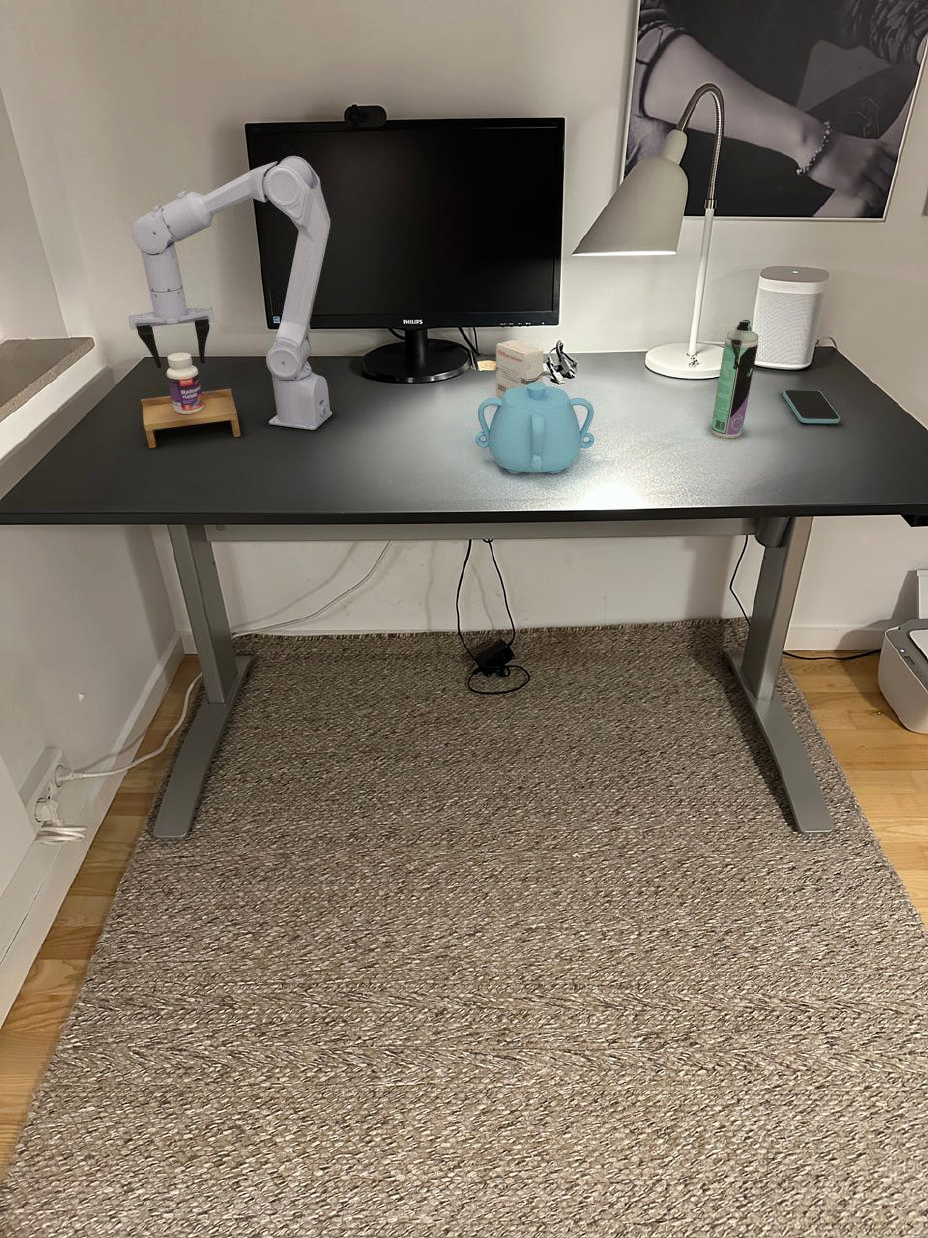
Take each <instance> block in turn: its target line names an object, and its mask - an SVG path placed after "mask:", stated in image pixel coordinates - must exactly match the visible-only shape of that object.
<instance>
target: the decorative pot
mask: <svg viewBox="0 0 928 1238" xmlns="http://www.w3.org/2000/svg"><path fill="white" fill-rule="evenodd" d="M490 406H497V407H496V409H495V411H494V414H493V416H492V419H491V423H490V428H489V425H488V424H487V421H486V416H485V409H486V408H487V407H490ZM574 406H581V407H584V408H585V409H586V410H587V413H586V417H585V419H584V420H585V421H584V422H583V424H582V426H581V427H580V422H579V419H578V415H577V413H576V410H575V408H574ZM594 415H595V411H594V407H593V404H592V403H591V402H590V401H589V400H587V399H585V398H583V397H573V398H570V397H569V395H568V393H567V392H566V391H565V390H564V389H562V388H559V387H555V386H547V384H545V383H544V382H543V383H539V382H533V383H530V384H528V385H527V386H522V387H515V388H511V389H509V390H507V391H506V392H505V394H504V395H503V397H502V399H499V398H496V397H490V398H486V399H485V400H483V401H482V402H481V403H480V404H479V405H478V409H477V418H478V421H479V425H480V427H481V430H482V431H479V432H478V433H476V435H475V437H474V438H475V439H474V441H475V444H476V445H477V446H478V447H480V448H482V449H487V448H488V449H489V452H490V454H491V456H492V458H493V459H494V461H495V462H496V464H497V465H498V466H500V467H501V468H503V469H506V470H507V472H509V473H511V474H520V473H523V472H524V473H549V474H559V473H561V472H562V470H564V469H568V468H569V467H571V466H572V465H573V463H575V461H576V459H577V458H578V457H579V455H580V453H581V449H589V448H592V446H593V445H594V443H595V436H594V435H593V434H592V432H588V430H589V429H590V427H591V425H592V422H593V419H594ZM482 437H485V440H482V439H481V438H482ZM585 438H588V440H587V441H585Z"/></svg>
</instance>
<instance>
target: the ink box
mask: <svg viewBox="0 0 928 1238" xmlns="http://www.w3.org/2000/svg"><path fill="white" fill-rule="evenodd" d="M543 379H544V349H541V348H538V347H536V346H533V345H531V344H527V343H525V342H521V341H520V340H516V339H511V340H508V341H503V342H498V343H497V344H495V398H499V399H502V397H503V395H504V394H505V392H506V391H507V390H509V389H511V388H515V387H522V386H527V385H528V384H530V383H533V382H539V383H543V384H544V382H543V381H544V380H543Z"/></svg>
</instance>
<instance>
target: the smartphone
mask: <svg viewBox="0 0 928 1238" xmlns="http://www.w3.org/2000/svg"><path fill="white" fill-rule="evenodd" d="M782 397H783V398H784V399H785V402H787V404H788V405H789V407H790V409H791V410H792V412H793V413H794V415H795V416H796V418H797V420H798V421H799V422H800V423H804V424H839V423H840V420H841V416H840V415H839V414H838V413H837V411H836V409H834V407H833V406H832V405H831V403H830V402H829V401H828V399H827V398H826V396H825V395H824V394H823V393H822V391H820V390H816V389H812V390H811V389H785V390H783V394H782Z"/></svg>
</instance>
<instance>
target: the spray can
mask: <svg viewBox="0 0 928 1238" xmlns="http://www.w3.org/2000/svg"><path fill="white" fill-rule="evenodd" d="M750 325H751V320H749V319H743V320H741V321H739V323H738V325H737V326H736V327H735V328H734V329H733V330H730V331H728V332H727V333H726V337H725V338H724V346H723V352H722V358H721V363H720V370H719V375H718V383H717V389H716V396H715V401H714V408H713V412H712V413H713V414H712V419H711V426H710V432H711V434H712V435H714V436H715V437H718V438H723V439H736V438H739V437H741V436H742V435H743V430H744V424H745V418H746V412H747V407H748V401H749V397H750V391H751V385H752V381H753V374H754V368H755V363H756V358H757V354H758V353H757V352H758V347H759V337H760V336H759V334H758V333H756V332H754V331H753V328H752V327H751V326H750Z"/></svg>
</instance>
